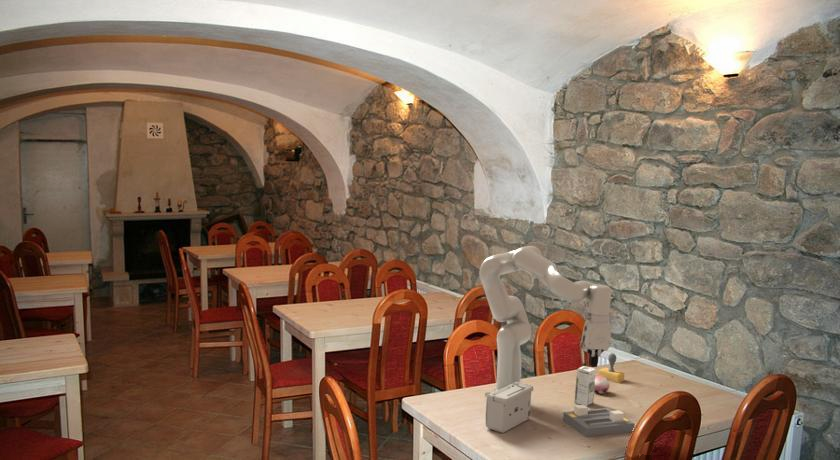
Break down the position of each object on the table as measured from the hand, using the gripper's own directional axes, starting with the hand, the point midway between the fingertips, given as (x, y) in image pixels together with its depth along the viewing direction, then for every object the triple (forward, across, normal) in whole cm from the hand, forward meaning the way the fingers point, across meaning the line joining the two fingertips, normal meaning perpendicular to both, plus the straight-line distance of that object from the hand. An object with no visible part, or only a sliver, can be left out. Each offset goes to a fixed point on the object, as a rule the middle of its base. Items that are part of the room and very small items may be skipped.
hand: (592, 365), depth 245 cm
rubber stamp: (+22, +39, +43) cm, 62 cm away
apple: (+22, +23, +28) cm, 42 cm away
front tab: (+18, +7, -8) cm, 21 cm away
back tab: (+18, -3, -1) cm, 19 cm away
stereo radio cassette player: (+23, -30, +4) cm, 38 cm away
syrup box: (+22, +9, +18) cm, 30 cm away
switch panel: (+21, +2, -5) cm, 22 cm away
